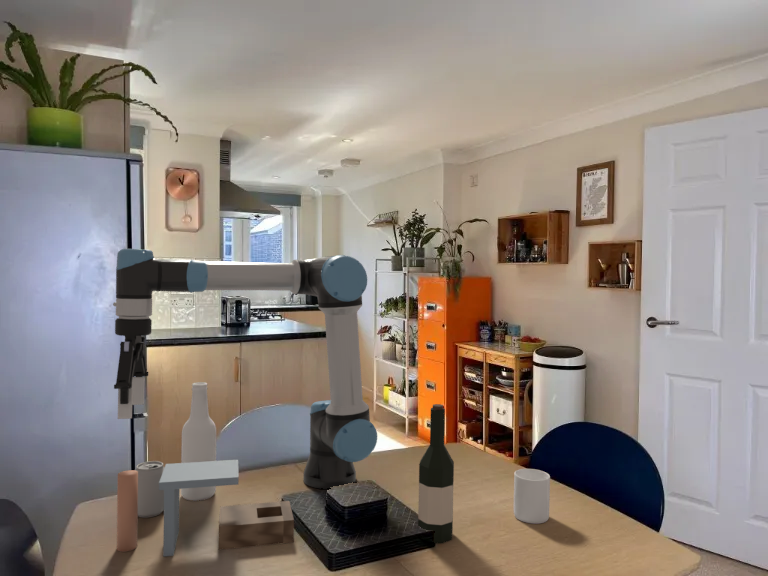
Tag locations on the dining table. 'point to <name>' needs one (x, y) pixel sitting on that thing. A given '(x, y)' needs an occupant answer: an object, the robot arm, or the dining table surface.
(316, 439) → the robot arm
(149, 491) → the can
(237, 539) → the socket
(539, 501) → the mug
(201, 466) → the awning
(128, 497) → the peg
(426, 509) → the wine bottle
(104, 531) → the dining table surface
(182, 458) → the alcohol
